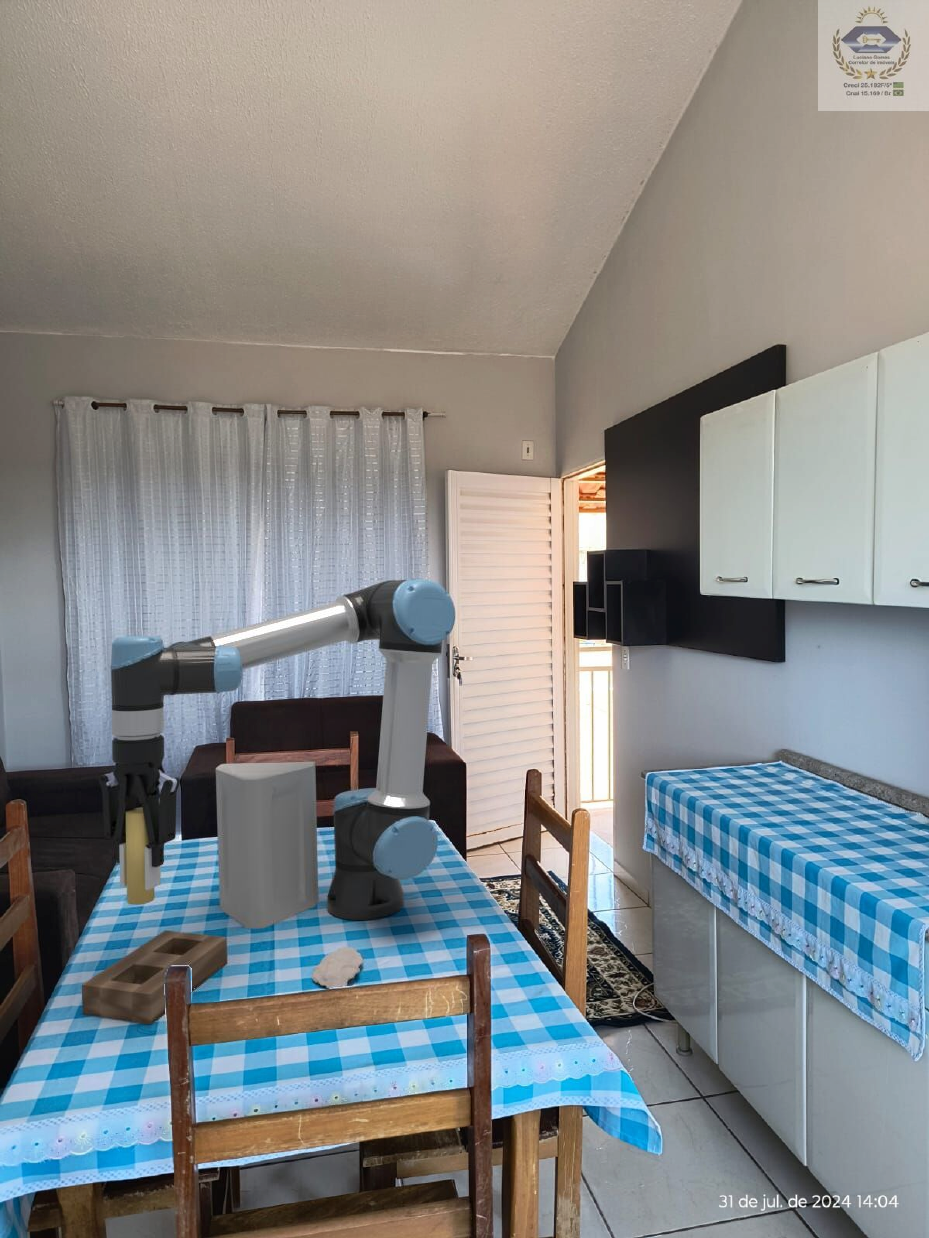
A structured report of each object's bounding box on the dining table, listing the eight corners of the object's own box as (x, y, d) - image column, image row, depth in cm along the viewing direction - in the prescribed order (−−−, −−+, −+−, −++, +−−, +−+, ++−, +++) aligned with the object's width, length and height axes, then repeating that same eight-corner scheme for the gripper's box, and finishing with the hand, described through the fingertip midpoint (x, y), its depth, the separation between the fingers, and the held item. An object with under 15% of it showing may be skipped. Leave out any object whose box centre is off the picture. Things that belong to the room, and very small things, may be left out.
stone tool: (363, 996, 126) (362, 960, 141) (364, 976, 126) (362, 942, 141) (310, 998, 125) (314, 961, 140) (310, 978, 125) (315, 942, 140)
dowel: (160, 896, 128) (158, 808, 128) (142, 905, 125) (141, 814, 124) (138, 894, 130) (137, 806, 129) (121, 903, 126) (119, 812, 125)
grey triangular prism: (203, 930, 152) (199, 780, 151) (225, 899, 167) (221, 763, 166) (306, 927, 152) (303, 778, 151) (319, 897, 167) (315, 761, 166)
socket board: (227, 963, 138) (226, 937, 138) (151, 1024, 119) (150, 994, 119) (166, 955, 141) (165, 930, 141) (82, 1014, 122) (81, 984, 122)
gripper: (200, 734, 128) (201, 882, 128) (110, 729, 133) (112, 871, 133) (169, 742, 120) (171, 899, 121) (75, 736, 125) (77, 887, 126)
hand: (140, 884), depth 127 cm, fingers closed on dowel, 4 cm apart
